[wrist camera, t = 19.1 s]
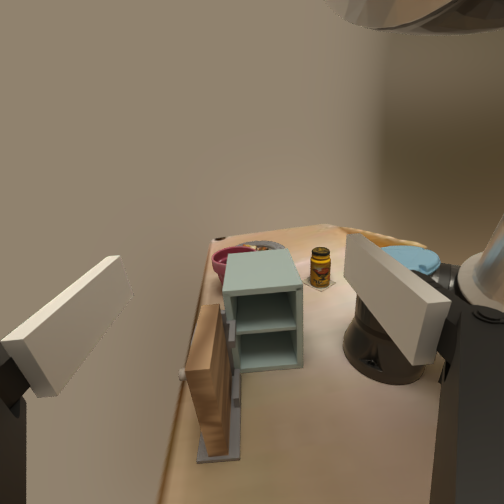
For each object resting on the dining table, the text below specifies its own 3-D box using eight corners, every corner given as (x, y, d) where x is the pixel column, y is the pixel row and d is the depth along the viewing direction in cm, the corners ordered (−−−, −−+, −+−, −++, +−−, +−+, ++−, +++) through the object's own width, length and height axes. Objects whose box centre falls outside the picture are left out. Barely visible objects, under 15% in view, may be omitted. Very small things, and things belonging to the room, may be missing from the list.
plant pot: (246, 274, 88) (242, 242, 82) (269, 290, 77) (266, 254, 71) (210, 288, 81) (204, 254, 76) (230, 308, 70) (224, 269, 65)
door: (232, 378, 48) (219, 303, 40) (228, 455, 36) (209, 368, 29) (211, 380, 48) (194, 306, 40) (200, 457, 36) (174, 372, 29)
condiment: (321, 292, 73) (322, 256, 69) (300, 282, 80) (300, 248, 75) (335, 283, 77) (337, 249, 72) (314, 274, 84) (315, 242, 79)
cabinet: (289, 317, 64) (287, 248, 56) (325, 452, 35) (332, 352, 27) (216, 323, 64) (204, 256, 56) (194, 463, 36) (162, 367, 28)
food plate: (278, 270, 88) (278, 261, 87) (220, 267, 95) (219, 259, 93) (287, 245, 110) (287, 238, 109) (239, 245, 117) (239, 238, 116)
